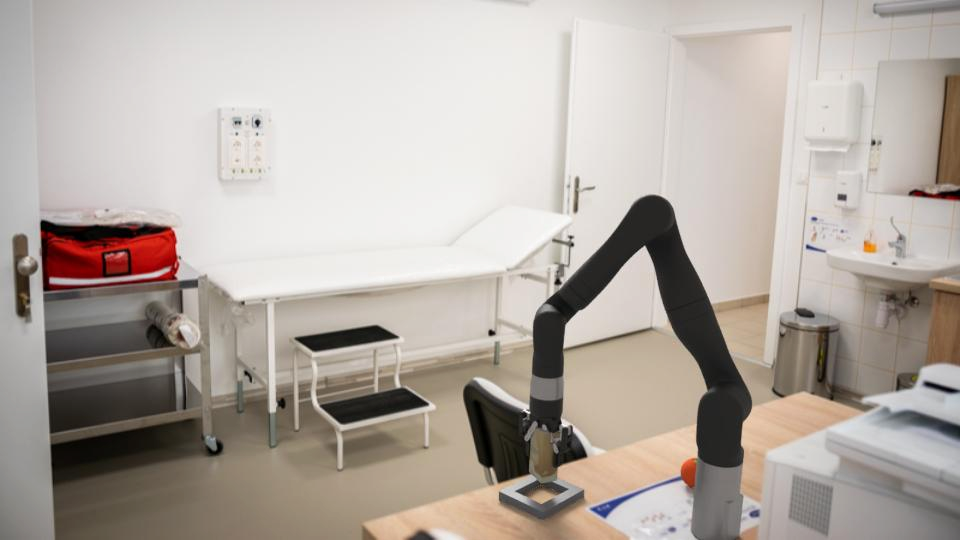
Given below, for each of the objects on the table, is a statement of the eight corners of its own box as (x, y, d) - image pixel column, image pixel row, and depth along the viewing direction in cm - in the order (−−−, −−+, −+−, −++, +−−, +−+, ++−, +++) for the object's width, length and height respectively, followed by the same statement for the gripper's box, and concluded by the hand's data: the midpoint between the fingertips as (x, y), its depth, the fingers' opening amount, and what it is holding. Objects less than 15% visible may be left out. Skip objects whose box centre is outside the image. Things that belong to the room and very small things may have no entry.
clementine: (717, 493, 187) (720, 465, 185) (691, 497, 185) (694, 468, 183) (698, 478, 194) (701, 451, 193) (673, 481, 192) (676, 454, 191)
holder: (584, 497, 183) (584, 489, 183) (542, 520, 173) (543, 512, 172) (540, 478, 192) (540, 470, 192) (498, 499, 181) (499, 491, 181)
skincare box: (528, 472, 183) (530, 422, 181) (544, 469, 185) (546, 420, 183) (541, 484, 178) (543, 433, 175) (558, 481, 179) (560, 430, 177)
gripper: (582, 397, 175) (578, 466, 178) (533, 380, 185) (530, 446, 188) (561, 406, 170) (558, 477, 173) (511, 388, 179) (509, 456, 183)
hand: (543, 460), depth 181 cm, fingers closed on skincare box, 7 cm apart
